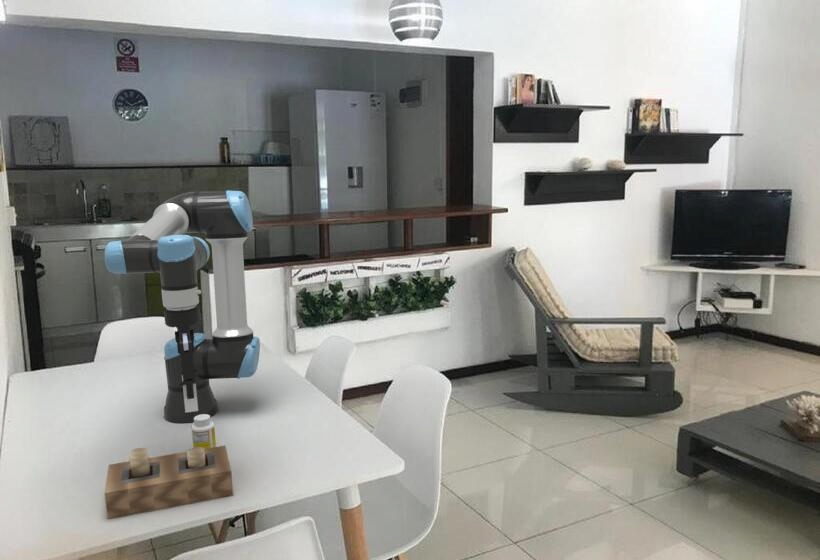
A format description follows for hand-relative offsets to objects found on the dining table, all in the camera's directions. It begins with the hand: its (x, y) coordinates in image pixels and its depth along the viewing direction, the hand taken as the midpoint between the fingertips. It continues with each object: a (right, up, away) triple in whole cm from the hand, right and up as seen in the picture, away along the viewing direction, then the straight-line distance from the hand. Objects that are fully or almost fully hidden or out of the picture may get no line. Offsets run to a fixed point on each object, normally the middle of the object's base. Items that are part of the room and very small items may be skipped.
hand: (191, 406), depth 154 cm
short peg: (0, -16, +3) cm, 17 cm away
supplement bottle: (-3, -16, +21) cm, 26 cm away
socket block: (-5, -20, +2) cm, 21 cm away
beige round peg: (-11, -16, -1) cm, 19 cm away
